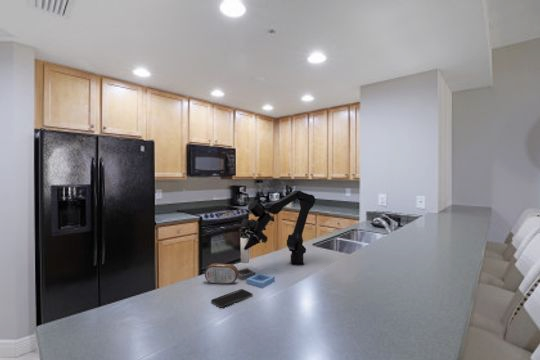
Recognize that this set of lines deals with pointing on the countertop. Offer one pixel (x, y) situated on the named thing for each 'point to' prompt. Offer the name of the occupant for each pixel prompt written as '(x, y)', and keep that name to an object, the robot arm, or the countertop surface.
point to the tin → (221, 273)
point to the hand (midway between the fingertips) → (242, 248)
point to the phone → (231, 298)
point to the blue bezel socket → (261, 284)
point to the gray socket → (245, 276)
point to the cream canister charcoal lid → (244, 253)
